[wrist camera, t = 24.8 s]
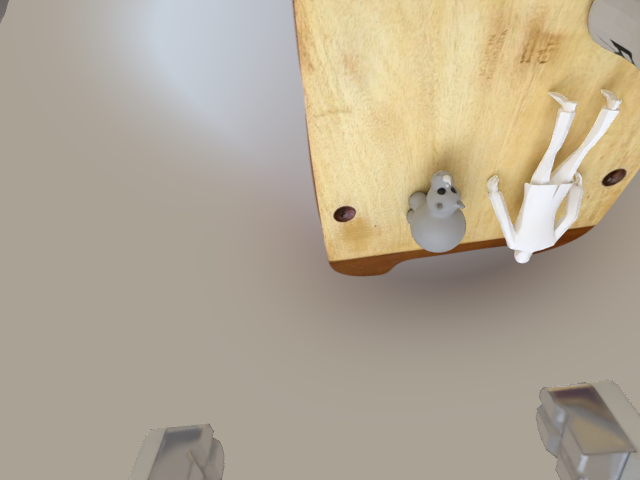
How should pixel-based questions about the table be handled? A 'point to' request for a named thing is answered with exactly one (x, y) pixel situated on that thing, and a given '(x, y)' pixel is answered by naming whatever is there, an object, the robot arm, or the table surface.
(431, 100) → the table surface
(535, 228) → the male figurine
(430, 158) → the table surface
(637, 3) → the mug
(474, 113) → the table surface
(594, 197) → the table surface
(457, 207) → the toy rhinoceros
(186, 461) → the robot arm
